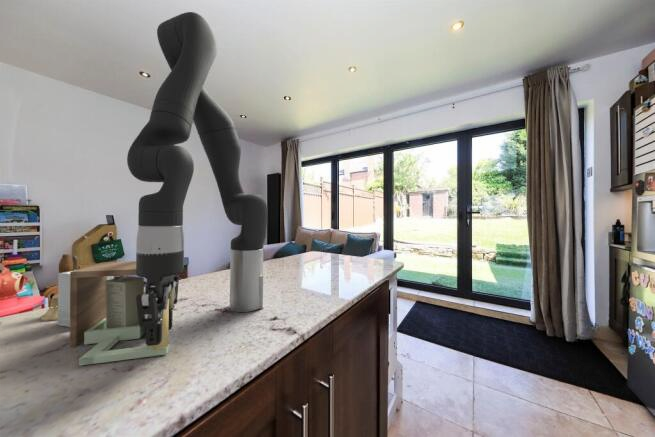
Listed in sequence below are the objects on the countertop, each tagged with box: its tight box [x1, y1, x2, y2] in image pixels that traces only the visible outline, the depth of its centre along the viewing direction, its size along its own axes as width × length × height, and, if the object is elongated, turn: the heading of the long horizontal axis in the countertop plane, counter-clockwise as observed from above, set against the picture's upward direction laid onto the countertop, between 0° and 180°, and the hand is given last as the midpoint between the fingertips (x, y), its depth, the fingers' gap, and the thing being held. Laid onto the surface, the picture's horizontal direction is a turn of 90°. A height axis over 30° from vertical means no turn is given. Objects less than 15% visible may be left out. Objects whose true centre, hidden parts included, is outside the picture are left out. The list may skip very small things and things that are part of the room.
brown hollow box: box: [69, 260, 152, 348], centre depth 54 cm, size 14×10×15 cm
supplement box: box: [57, 270, 115, 328], centre depth 59 cm, size 7×7×13 cm
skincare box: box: [105, 275, 145, 329], centre depth 54 cm, size 6×4×12 cm
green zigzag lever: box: [78, 299, 171, 366], centre depth 51 cm, size 17×18×10 cm
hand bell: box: [40, 253, 74, 322], centre depth 63 cm, size 8×8×16 cm
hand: (160, 336), depth 46 cm, fingers open, 5 cm apart
